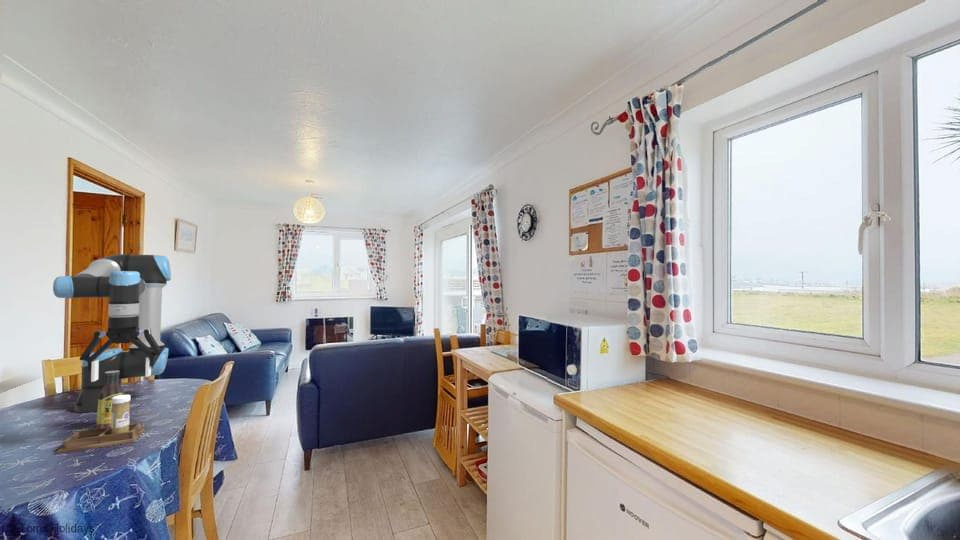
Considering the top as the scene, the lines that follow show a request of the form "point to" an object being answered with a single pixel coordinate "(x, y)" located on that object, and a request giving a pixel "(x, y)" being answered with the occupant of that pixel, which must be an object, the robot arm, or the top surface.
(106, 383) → the sauce bottle
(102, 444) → the slot rack
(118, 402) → the sprinkles bottle
